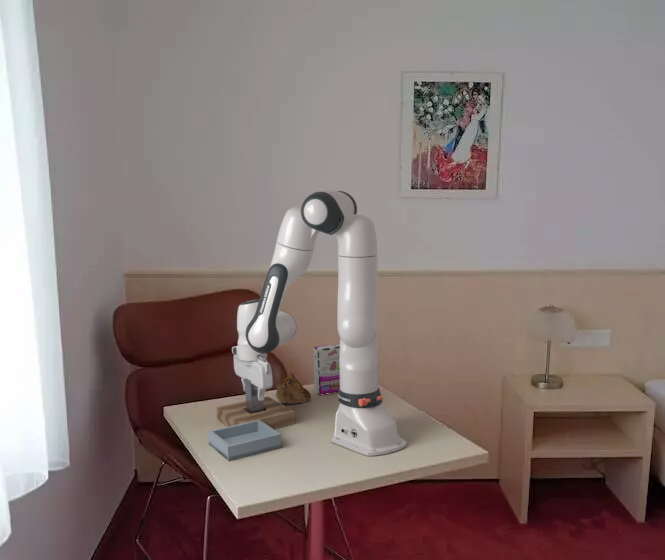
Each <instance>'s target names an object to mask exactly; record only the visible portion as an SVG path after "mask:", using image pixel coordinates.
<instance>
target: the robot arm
mask: <svg viewBox="0 0 665 560" xmlns="http://www.w3.org/2000/svg"><path fill="white" fill-rule="evenodd" d="M357 213H358V205H357V202H356V200H355V198H354V197H353V196H352V195H350V194H349V193H347V192H346V191H342V190H333V189H329V190H328V189H327V190H321V191H315V192H313V193H311V194H309V195H308V196H307V197H306V198H305V199H304V201H303V202H302V205H301V206H294V207H290V208H289V209H288V210H287V211H285V214H284V216H283V218H282V221H281V223H280V227H279V230H278V234H277V237H276V242H275V247H274V252H273V254H272V255H273V256H272V259H271V262H270V266H269V268H268V271H267V274H266V276H265V280H264V283H263V286H262V289H261V291H260V292H261V294H260V297H259V299H258V298H257V299H251V300H246V301H243V302H241V303H240V304H239V305H238V307H237V315H236V329H237V333H238V339H237V345H236V346H235V345H234V346H232V347H231V352H232V354H233V370H234V373H235V375H236V376H238V377H240V378H241V383H242V387H243V392H244V393H246V389H245V378H247V379H249V380H250V381H251V383H252V384H253V385H255V386H257V387H258V390H259V391H258V394H257V399H258V400H259V401H262V400H264V397H265V394H266V391H267V390H268V389H272V387H273V385H274V382H273V381H274V380H273V370H272V365H271V363H270V362H269V361H268V354H270V353H271V352H273V351H274V350H275V349H276V348H278V347H280V346H282V345H283V344H285V343H287V342H289V341H290V340H291V339H293V338H294V337H295V335H296V333H297V332H296V331H297V324H296V321H295V317H293V316H292V315H291V314H290V313H288V312H286V311H283V310H281V306H282V303H283V299H284V296H285V294H286V292H287V290H288V289H289V287H290V286H291V285H292V284H293V283H294V282H295V281H296V280H297V279H299V277H301V276H302V275H303V274H304V273H305V272H306V271H307V270H308V269H309V266H310V264H311V261H312V257H313V255H314V249H315V245H316V241H317V237H318V235H319V233H320V232H321V233H322V234H326V235H328V236H329V235H330V236H332V235H334V236H335V237H336V240H337V272H338V273H337V278H338V279H337V281H338V282H337V284H338V285H337V316H336V317H337V320H336V321H337V322H336V325H337V326H336V328H337V334H338V337H339V343H340V358H339V370H340V388H339V390H338V392H337V398H338V399H337V400H338V402H339V405H338V407H337V411H336V413H335V419H334V421H335V422H334V423H335V424H334V434H333V436H332V437H331V442H332V443H333V444H335V445H338V446H341V447H343V448H346V449H348V450H351V451H353V452H356V453H359V454H361V455H364V456H367V457H368V456H369V457H373V456H382V455H386V454H387V455H388V454H391V453H394V452H397V451H400V450H401V449H404V448H405V447H407V445H408V444H407V441H406V440H405V439H404V438H403V437H401V436H400V435H399V433H398V432H399V431H398V425H397V420H396V417H395V416H392V415H391V414H390V413H389V411H388V410H387V408H386V407H385V405H384V404H383V400H384V396H385V395H382V392H381V389H380V387H379V352H378V351H379V348H378V347H379V345H378V344H379V342H378V341H379V339H378V336H379V335H378V334H379V333H378V332H379V330H378V240H377V233H376V232H377V231H376V228H375V222H374V221H373V220H372V219H371V218H369V217H368V216H366V215H362V214H357Z"/></svg>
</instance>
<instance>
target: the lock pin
mask: <svg viewBox="0 0 665 560" xmlns="http://www.w3.org/2000/svg"><path fill="white" fill-rule="evenodd" d="M245 389H246V392H245V401H246V411H247V412H248V413H250V414H253V413H257V412H262V411H264V404H263V400H262V401H259V400H258V399H257V394H258V391H259V390H258V387H257V386H255V385H253V384H252V383H251V381H250V380H249V379H247V378H245Z"/></svg>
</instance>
